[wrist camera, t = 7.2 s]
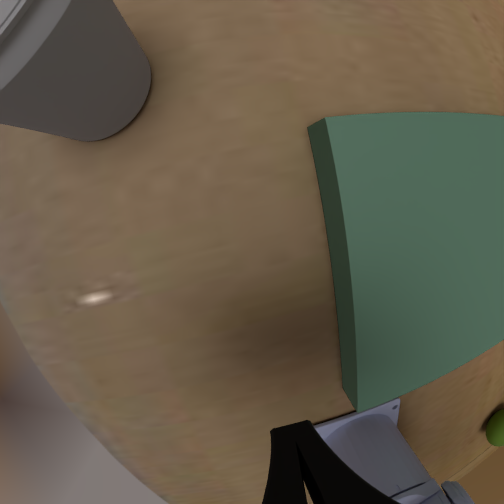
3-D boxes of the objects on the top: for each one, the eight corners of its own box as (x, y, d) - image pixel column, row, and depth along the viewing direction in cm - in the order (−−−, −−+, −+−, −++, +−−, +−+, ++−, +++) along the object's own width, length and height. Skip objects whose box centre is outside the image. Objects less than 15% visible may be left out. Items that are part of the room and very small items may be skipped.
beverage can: (161, 40, 14) (102, -106, 2) (147, 142, 15) (14, 77, 4) (67, 51, 13) (-47, -33, 1) (51, 147, 14) (-108, 132, 3)
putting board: (530, 296, 22) (548, 305, 19) (342, 388, 20) (357, 413, 17) (528, 123, 17) (550, 122, 14) (307, 127, 16) (324, 117, 13)
